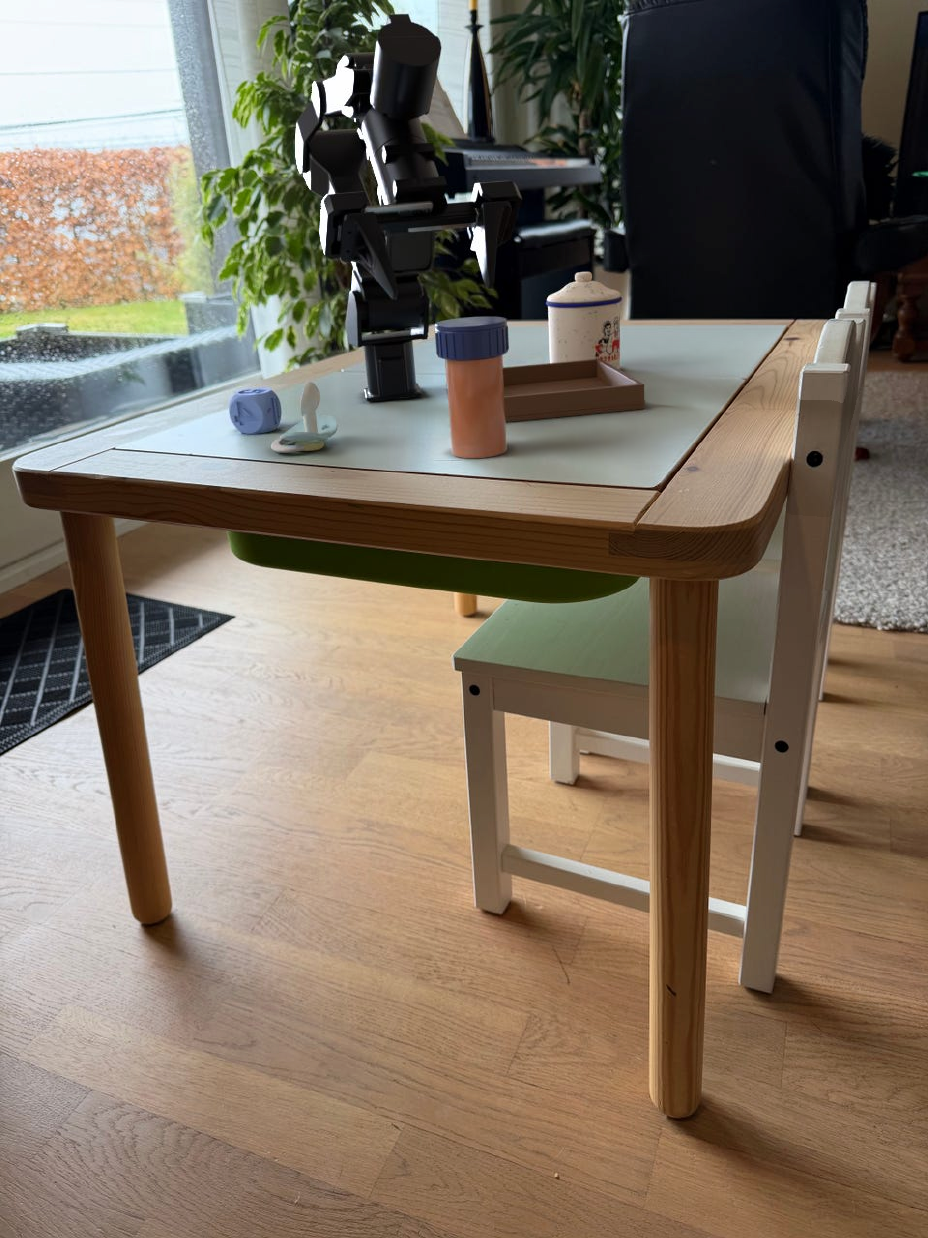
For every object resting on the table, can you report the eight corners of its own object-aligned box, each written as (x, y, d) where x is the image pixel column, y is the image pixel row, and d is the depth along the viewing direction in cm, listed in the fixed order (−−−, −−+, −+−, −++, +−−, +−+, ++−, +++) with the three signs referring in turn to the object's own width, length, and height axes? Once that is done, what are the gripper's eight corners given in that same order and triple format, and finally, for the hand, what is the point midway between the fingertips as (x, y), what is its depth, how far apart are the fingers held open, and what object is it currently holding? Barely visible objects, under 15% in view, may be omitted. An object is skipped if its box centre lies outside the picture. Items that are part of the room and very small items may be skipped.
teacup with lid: (609, 379, 112) (608, 275, 108) (537, 377, 116) (534, 277, 111) (636, 361, 122) (637, 265, 117) (570, 360, 126) (568, 267, 121)
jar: (448, 447, 88) (439, 325, 83) (502, 441, 88) (495, 320, 84) (455, 460, 83) (446, 332, 79) (511, 455, 84) (505, 327, 79)
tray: (474, 391, 111) (472, 369, 110) (600, 379, 112) (600, 358, 111) (497, 422, 95) (496, 398, 94) (644, 408, 97) (644, 384, 96)
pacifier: (261, 459, 89) (323, 455, 88) (249, 392, 86) (312, 387, 85) (287, 440, 95) (344, 436, 94) (275, 377, 93) (334, 372, 92)
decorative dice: (266, 434, 98) (260, 395, 96) (232, 434, 99) (225, 395, 97) (284, 425, 101) (278, 387, 100) (251, 424, 102) (245, 387, 101)
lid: (514, 355, 80) (513, 322, 79) (440, 362, 79) (438, 329, 78) (502, 345, 85) (500, 314, 84) (433, 351, 85) (431, 320, 84)
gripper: (476, 214, 101) (518, 334, 97) (304, 228, 96) (338, 356, 92) (499, 128, 91) (546, 258, 86) (307, 139, 86) (346, 277, 82)
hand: (443, 290), depth 87 cm, fingers open, 9 cm apart
